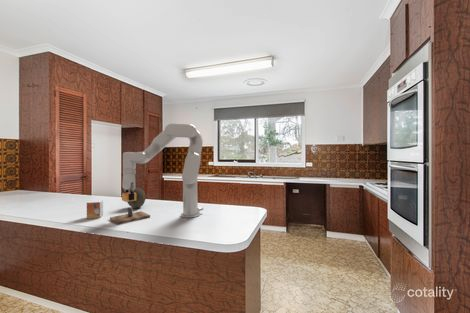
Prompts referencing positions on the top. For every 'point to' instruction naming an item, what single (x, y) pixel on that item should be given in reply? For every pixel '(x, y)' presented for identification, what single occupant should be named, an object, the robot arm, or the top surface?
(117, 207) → the top surface
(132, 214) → the board
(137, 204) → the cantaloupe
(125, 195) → the orange square ring
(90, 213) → the small box
